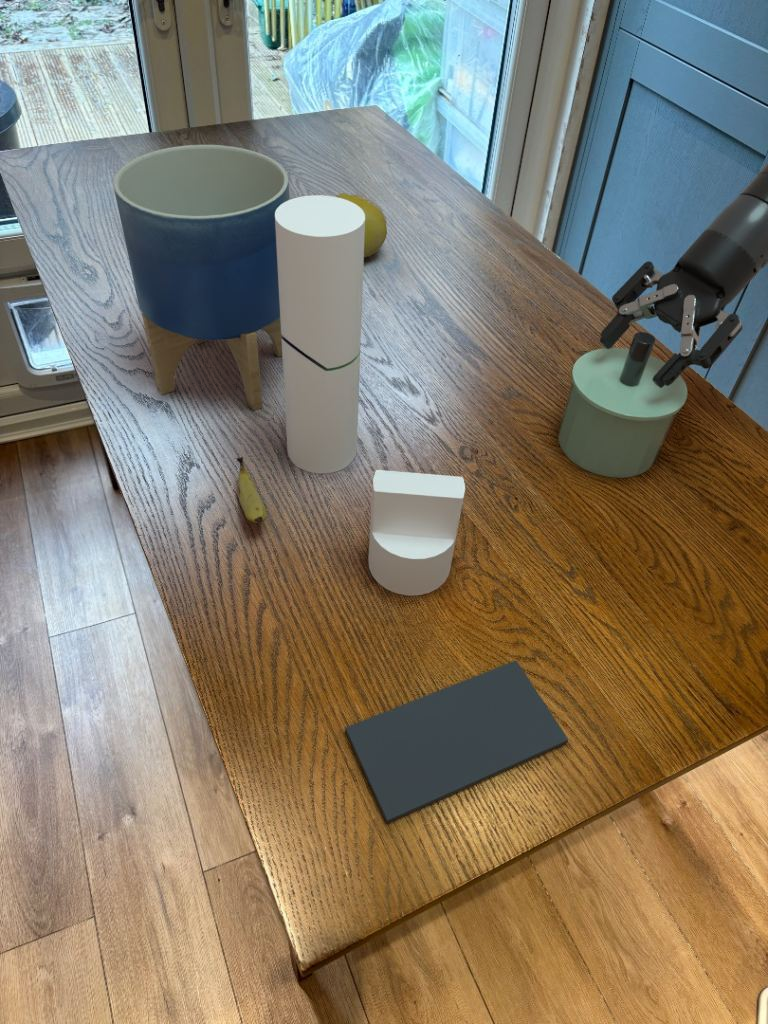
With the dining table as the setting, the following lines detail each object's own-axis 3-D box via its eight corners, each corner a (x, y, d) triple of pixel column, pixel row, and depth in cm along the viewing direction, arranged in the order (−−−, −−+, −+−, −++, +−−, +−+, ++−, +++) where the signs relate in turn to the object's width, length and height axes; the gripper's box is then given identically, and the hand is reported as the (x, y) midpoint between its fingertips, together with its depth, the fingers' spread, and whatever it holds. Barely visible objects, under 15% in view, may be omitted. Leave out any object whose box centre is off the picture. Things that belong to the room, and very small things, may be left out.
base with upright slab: (450, 535, 84) (464, 456, 76) (450, 599, 78) (465, 521, 70) (371, 528, 85) (376, 449, 76) (364, 592, 78) (369, 513, 70)
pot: (654, 422, 100) (678, 363, 93) (657, 486, 92) (684, 426, 85) (560, 405, 102) (577, 346, 95) (555, 467, 93) (573, 407, 86)
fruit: (380, 273, 123) (383, 214, 116) (316, 265, 124) (315, 205, 117) (390, 244, 130) (393, 186, 123) (329, 236, 131) (329, 179, 124)
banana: (271, 539, 83) (269, 515, 80) (250, 544, 82) (247, 519, 79) (252, 478, 89) (250, 453, 86) (232, 482, 88) (229, 457, 86)
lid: (680, 365, 94) (701, 315, 89) (687, 434, 85) (711, 383, 80) (572, 347, 96) (586, 297, 90) (567, 413, 86) (582, 361, 81)
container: (314, 483, 89) (309, 245, 67) (273, 444, 93) (257, 209, 71) (370, 454, 93) (383, 221, 71) (329, 418, 97) (329, 188, 75)
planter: (189, 433, 94) (152, 233, 75) (133, 355, 104) (88, 161, 85) (322, 386, 102) (319, 194, 83) (257, 318, 112) (242, 133, 93)
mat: (514, 664, 73) (516, 659, 73) (566, 743, 68) (568, 739, 67) (345, 731, 68) (345, 727, 67) (386, 824, 62) (387, 820, 62)
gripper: (675, 205, 84) (576, 320, 88) (781, 261, 76) (666, 385, 80) (691, 239, 90) (597, 346, 94) (790, 295, 82) (683, 409, 86)
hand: (629, 364), depth 87 cm, fingers open, 8 cm apart
